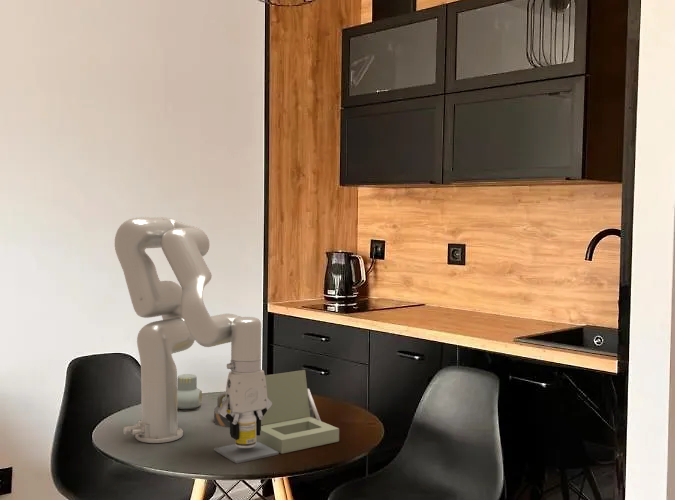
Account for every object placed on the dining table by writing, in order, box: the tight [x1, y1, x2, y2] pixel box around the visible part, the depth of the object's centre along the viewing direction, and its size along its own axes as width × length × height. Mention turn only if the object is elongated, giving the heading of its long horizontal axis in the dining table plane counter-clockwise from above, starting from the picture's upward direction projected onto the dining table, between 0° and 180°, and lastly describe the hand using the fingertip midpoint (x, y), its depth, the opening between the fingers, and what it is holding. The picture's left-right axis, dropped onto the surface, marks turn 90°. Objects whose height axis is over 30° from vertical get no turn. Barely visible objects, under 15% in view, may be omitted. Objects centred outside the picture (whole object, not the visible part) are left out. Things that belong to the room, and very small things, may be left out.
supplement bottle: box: [234, 411, 256, 448], centre depth 188 cm, size 5×5×10 cm
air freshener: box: [177, 373, 203, 410], centre depth 231 cm, size 11×8×10 cm
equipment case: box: [256, 369, 340, 455], centre depth 200 cm, size 19×18×16 cm
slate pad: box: [213, 441, 279, 464], centre depth 189 cm, size 12×12×1 cm
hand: (245, 435), depth 188 cm, fingers closed on supplement bottle, 5 cm apart
